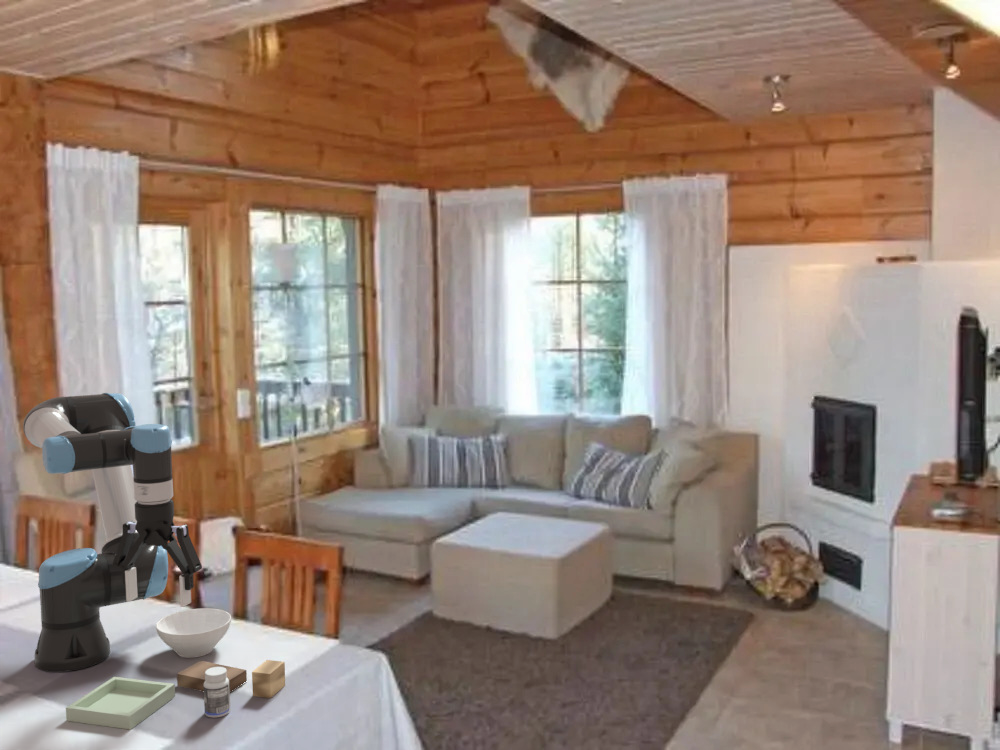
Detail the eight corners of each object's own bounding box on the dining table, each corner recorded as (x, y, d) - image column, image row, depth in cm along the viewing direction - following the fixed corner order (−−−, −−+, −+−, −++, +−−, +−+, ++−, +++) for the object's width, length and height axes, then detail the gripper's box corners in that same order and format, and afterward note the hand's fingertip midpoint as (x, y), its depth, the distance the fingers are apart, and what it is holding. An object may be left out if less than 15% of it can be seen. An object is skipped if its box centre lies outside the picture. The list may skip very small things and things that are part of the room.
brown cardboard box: (177, 687, 191) (176, 673, 191) (201, 674, 198) (200, 660, 197) (224, 698, 186) (223, 683, 186) (246, 683, 193) (246, 670, 192)
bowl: (162, 671, 198) (161, 639, 197) (152, 645, 212) (151, 615, 211) (239, 657, 205) (238, 626, 205) (224, 632, 219) (223, 603, 219)
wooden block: (252, 695, 186) (251, 671, 186) (267, 683, 192) (266, 659, 191) (270, 698, 185) (270, 673, 185) (285, 685, 191) (284, 661, 190)
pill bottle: (207, 707, 182) (206, 666, 181) (232, 706, 182) (230, 665, 181) (202, 718, 177) (200, 676, 176) (227, 717, 177) (225, 675, 176)
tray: (66, 720, 176) (65, 707, 176) (114, 688, 190) (114, 676, 190) (130, 729, 173) (129, 716, 173) (175, 696, 186) (174, 684, 186)
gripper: (90, 501, 190) (96, 603, 193) (196, 508, 184) (200, 613, 187) (114, 492, 198) (119, 591, 200) (216, 499, 192) (220, 600, 194)
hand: (158, 602), depth 193 cm, fingers open, 12 cm apart
